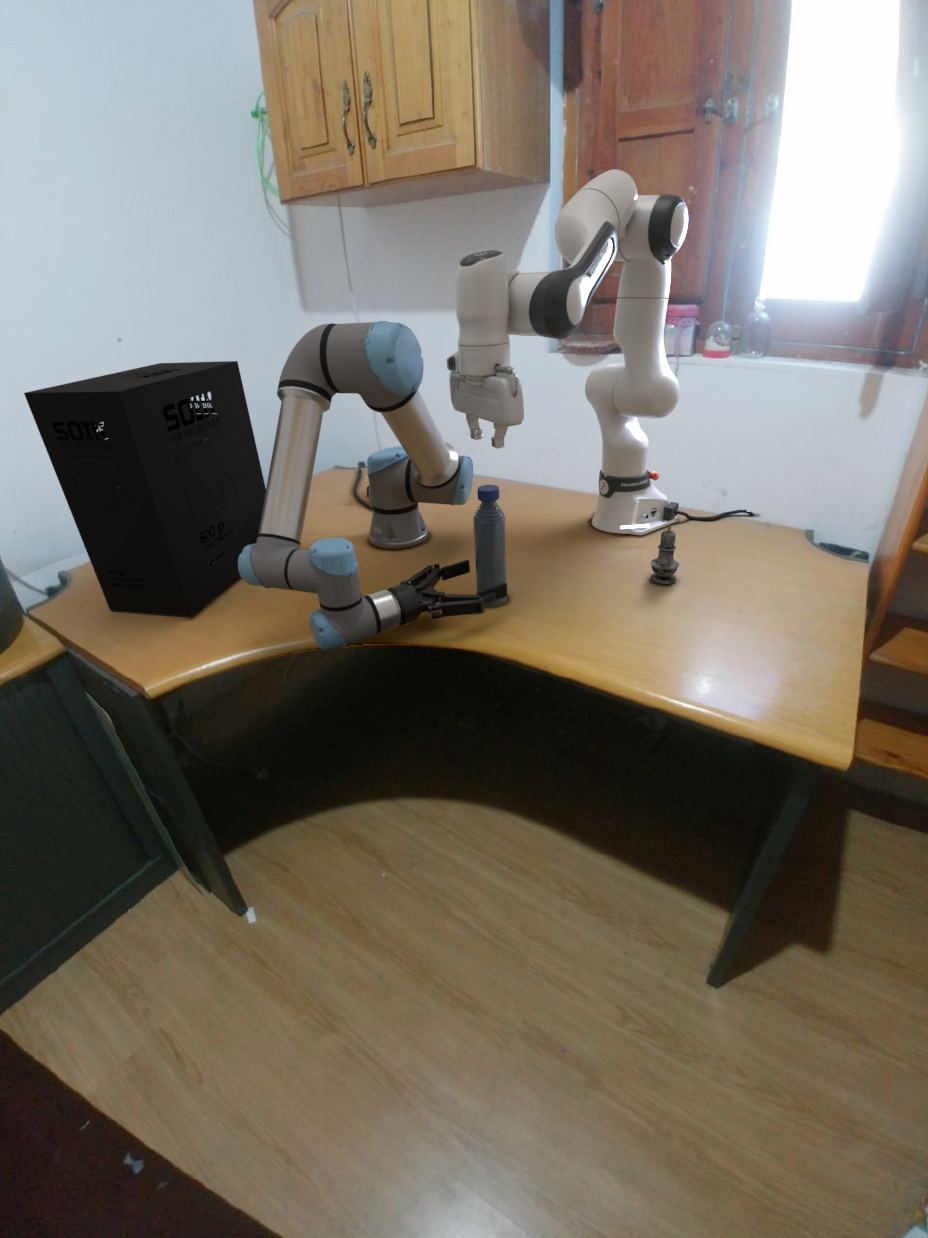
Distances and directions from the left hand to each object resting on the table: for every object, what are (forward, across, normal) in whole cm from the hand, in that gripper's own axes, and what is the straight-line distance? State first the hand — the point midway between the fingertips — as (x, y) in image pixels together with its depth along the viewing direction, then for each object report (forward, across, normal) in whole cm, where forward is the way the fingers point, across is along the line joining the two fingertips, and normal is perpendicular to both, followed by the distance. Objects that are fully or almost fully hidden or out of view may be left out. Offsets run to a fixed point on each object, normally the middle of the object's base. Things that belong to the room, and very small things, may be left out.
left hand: (486, 577), depth 123 cm
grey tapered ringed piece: (+36, +15, -6) cm, 39 cm away
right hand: (+1, 0, +27) cm, 27 cm away
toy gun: (+19, -76, -6) cm, 79 cm away
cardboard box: (-47, -52, -6) cm, 71 cm away
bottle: (+1, 0, -6) cm, 6 cm away
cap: (+1, 0, +18) cm, 18 cm away
